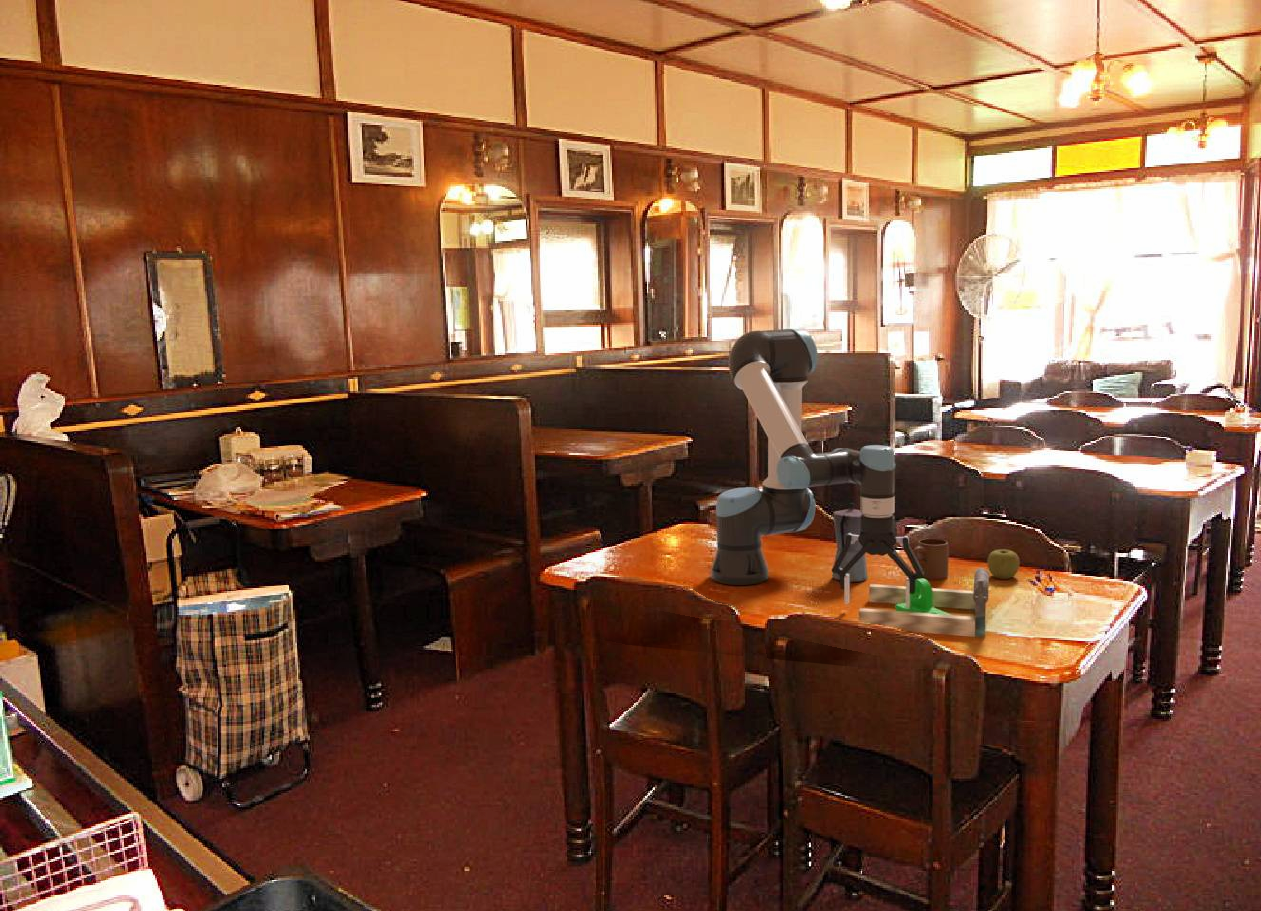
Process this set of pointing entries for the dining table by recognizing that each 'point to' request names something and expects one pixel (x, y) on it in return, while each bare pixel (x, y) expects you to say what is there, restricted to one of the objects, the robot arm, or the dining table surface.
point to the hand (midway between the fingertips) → (877, 605)
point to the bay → (939, 599)
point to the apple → (1003, 563)
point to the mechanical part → (920, 600)
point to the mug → (933, 558)
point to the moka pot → (847, 524)
